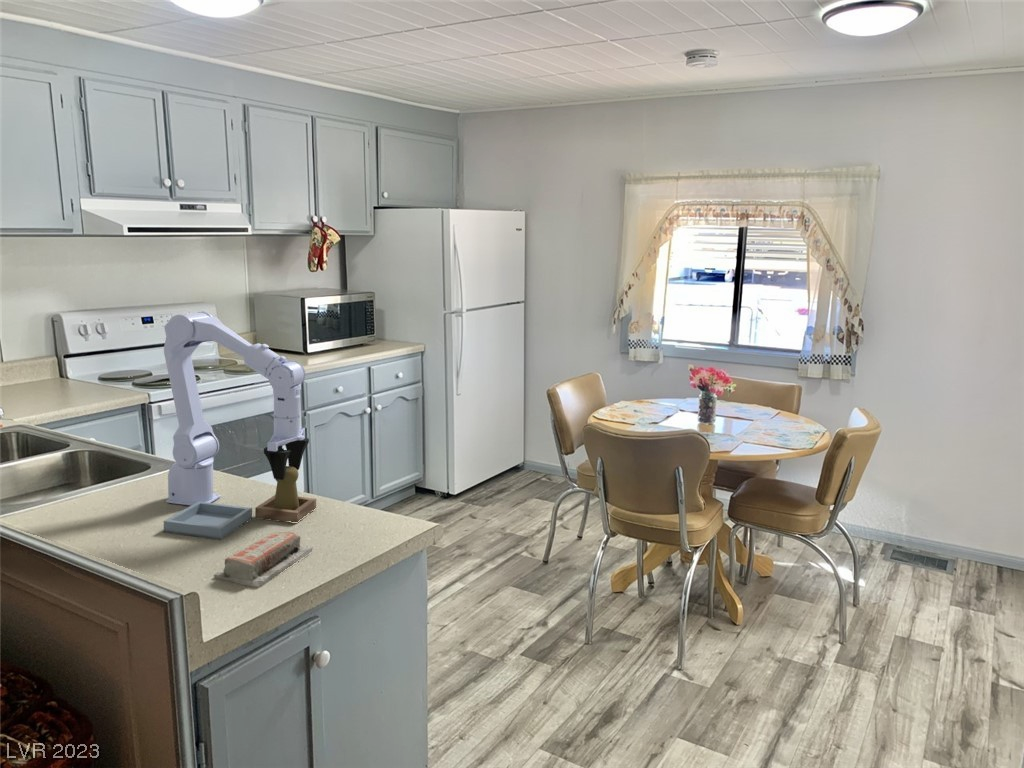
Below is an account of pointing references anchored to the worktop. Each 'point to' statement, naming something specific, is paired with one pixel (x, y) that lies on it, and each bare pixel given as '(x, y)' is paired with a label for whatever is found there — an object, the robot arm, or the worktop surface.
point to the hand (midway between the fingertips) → (286, 474)
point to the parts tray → (208, 520)
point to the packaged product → (263, 559)
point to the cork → (287, 490)
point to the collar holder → (269, 512)
